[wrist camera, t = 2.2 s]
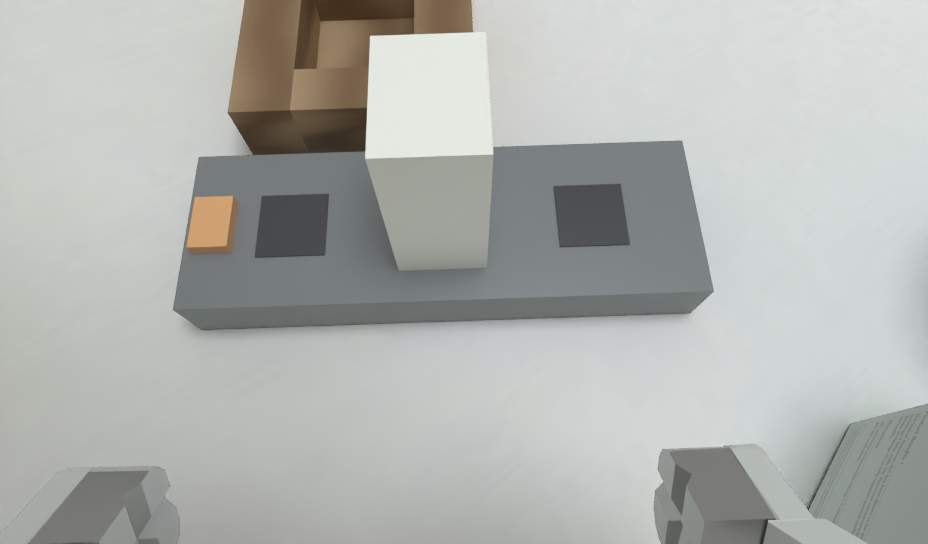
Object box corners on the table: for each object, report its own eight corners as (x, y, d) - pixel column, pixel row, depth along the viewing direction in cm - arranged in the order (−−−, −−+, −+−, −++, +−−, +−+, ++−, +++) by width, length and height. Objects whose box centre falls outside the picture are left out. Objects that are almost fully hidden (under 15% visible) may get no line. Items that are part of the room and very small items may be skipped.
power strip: (201, 329, 29) (165, 304, 25) (222, 188, 32) (192, 149, 28) (690, 312, 29) (719, 285, 25) (663, 173, 32) (686, 132, 28)
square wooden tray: (259, 164, 32) (227, 112, 28) (278, 2, 37) (254, -62, 33) (475, 156, 32) (476, 103, 28) (468, -4, 37) (467, -70, 33)
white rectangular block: (403, 287, 28) (364, 158, 18) (404, 196, 30) (369, 35, 20) (485, 284, 28) (493, 154, 18) (481, 194, 30) (486, 31, 20)
